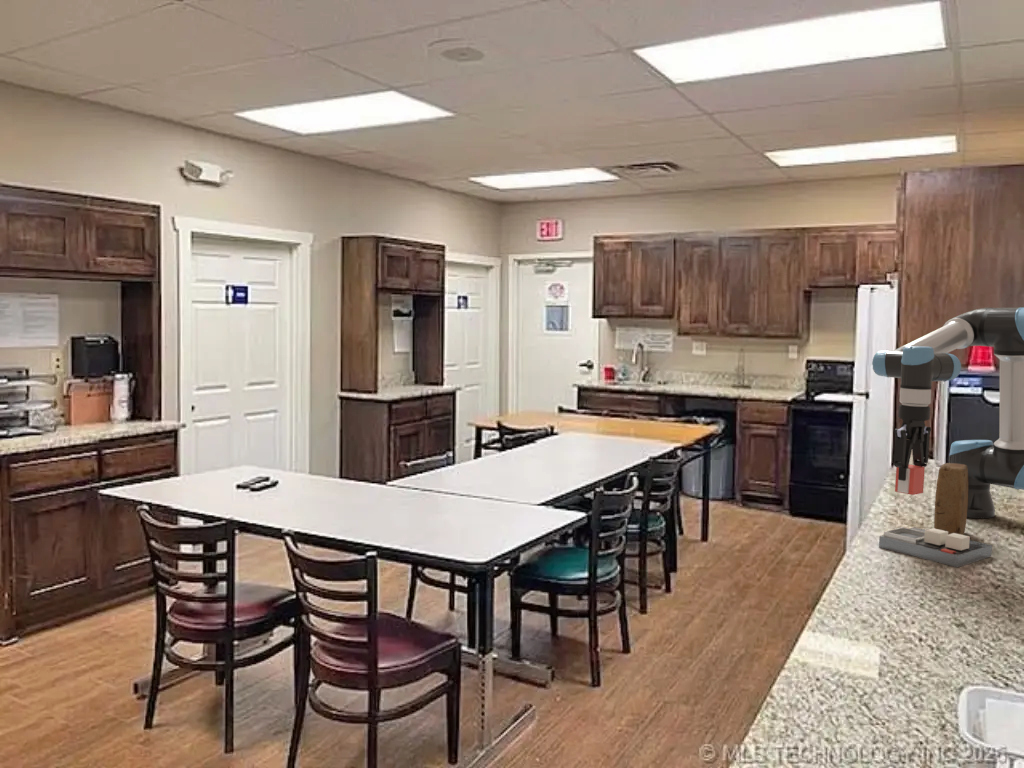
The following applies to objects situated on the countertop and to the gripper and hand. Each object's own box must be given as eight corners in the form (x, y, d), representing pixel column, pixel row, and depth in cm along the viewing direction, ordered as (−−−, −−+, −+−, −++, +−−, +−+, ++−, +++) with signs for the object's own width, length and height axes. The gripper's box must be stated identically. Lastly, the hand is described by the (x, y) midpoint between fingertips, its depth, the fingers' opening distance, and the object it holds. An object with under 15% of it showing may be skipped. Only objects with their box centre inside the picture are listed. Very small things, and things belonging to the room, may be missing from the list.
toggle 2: (953, 544, 219) (954, 532, 218) (969, 548, 215) (969, 536, 215) (945, 546, 216) (945, 535, 216) (960, 550, 213) (961, 538, 213)
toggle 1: (932, 539, 223) (933, 528, 223) (947, 543, 220) (948, 531, 220) (924, 541, 221) (924, 530, 221) (939, 545, 218) (940, 533, 217)
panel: (913, 537, 238) (914, 523, 237) (991, 556, 220) (992, 540, 220) (878, 547, 228) (879, 531, 228) (957, 567, 211) (958, 550, 210)
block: (960, 539, 236) (964, 468, 234) (931, 534, 241) (935, 465, 239) (968, 531, 245) (972, 463, 243) (940, 527, 249) (944, 460, 247)
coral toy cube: (905, 489, 230) (906, 463, 229) (923, 492, 226) (924, 466, 225) (894, 491, 227) (896, 465, 227) (912, 494, 223) (914, 468, 222)
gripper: (920, 401, 233) (914, 485, 235) (881, 404, 222) (876, 492, 224) (947, 404, 226) (941, 490, 228) (908, 407, 216) (903, 497, 218)
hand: (909, 491), depth 226 cm, fingers closed on coral toy cube, 5 cm apart
